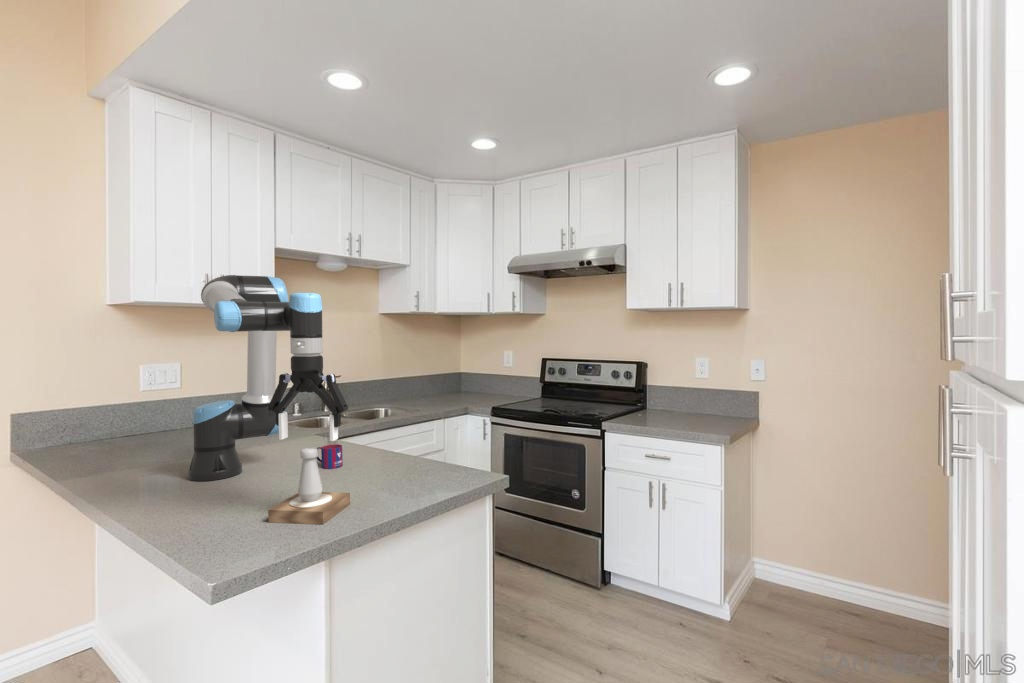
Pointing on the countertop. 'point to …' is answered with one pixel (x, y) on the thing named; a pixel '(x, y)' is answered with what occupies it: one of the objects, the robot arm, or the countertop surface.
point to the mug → (331, 456)
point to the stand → (309, 509)
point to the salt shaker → (309, 476)
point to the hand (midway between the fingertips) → (308, 439)
